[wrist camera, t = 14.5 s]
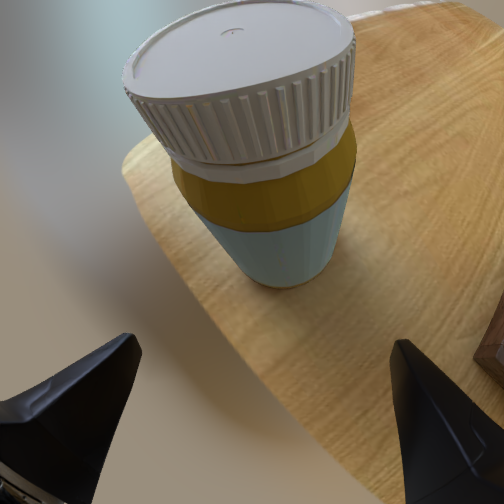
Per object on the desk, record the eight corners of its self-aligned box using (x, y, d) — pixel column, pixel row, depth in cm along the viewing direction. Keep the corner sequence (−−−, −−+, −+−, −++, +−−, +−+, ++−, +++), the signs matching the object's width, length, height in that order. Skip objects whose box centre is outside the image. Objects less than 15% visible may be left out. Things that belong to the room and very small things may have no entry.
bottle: (275, 181, 21) (228, -9, 7) (352, 231, 18) (408, 23, 4) (215, 250, 20) (75, 88, 6) (292, 312, 17) (242, 172, 3)
